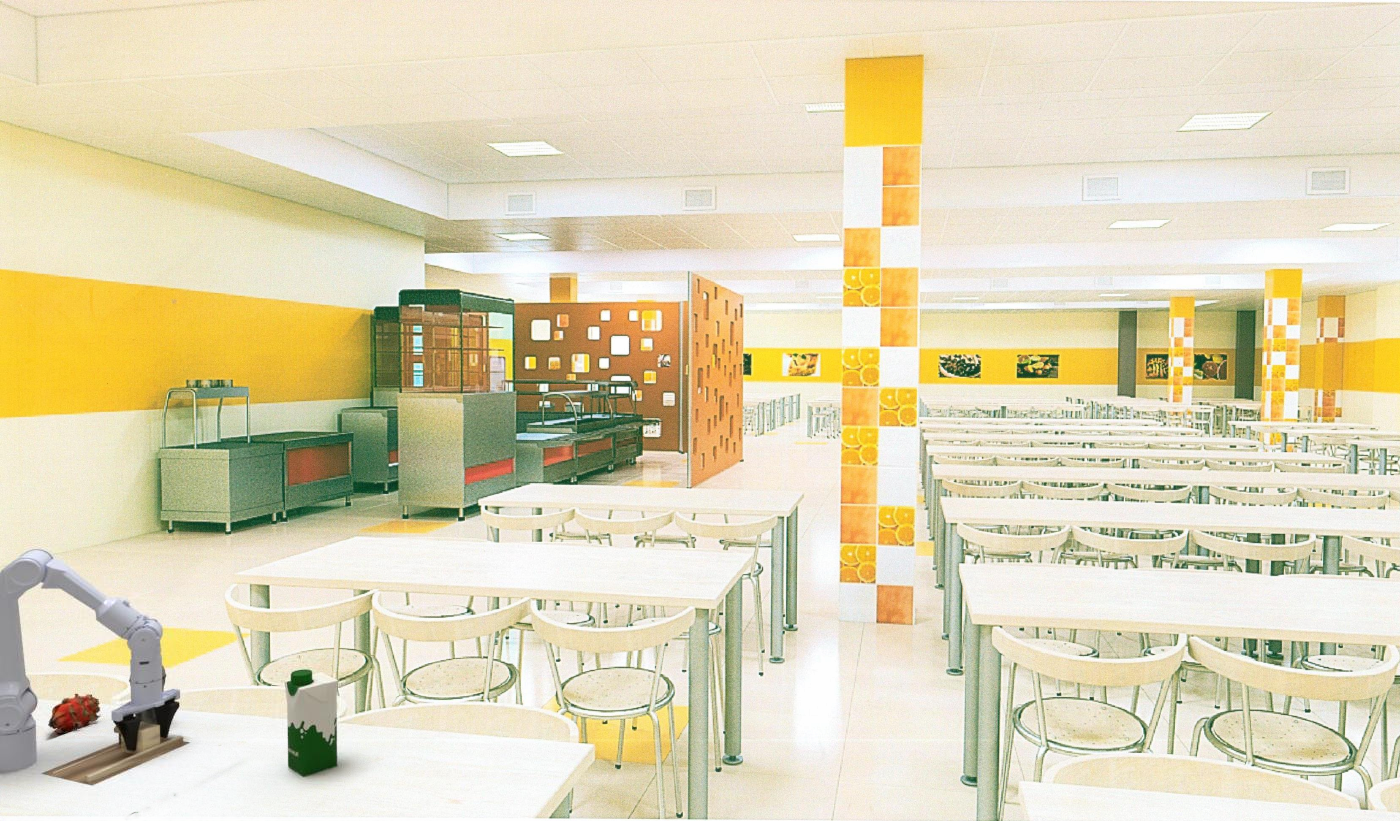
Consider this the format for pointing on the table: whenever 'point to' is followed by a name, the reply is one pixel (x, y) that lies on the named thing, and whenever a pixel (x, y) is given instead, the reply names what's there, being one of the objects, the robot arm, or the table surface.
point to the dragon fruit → (74, 713)
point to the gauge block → (142, 737)
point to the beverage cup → (149, 714)
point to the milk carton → (311, 721)
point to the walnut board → (111, 762)
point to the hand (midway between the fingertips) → (147, 743)
